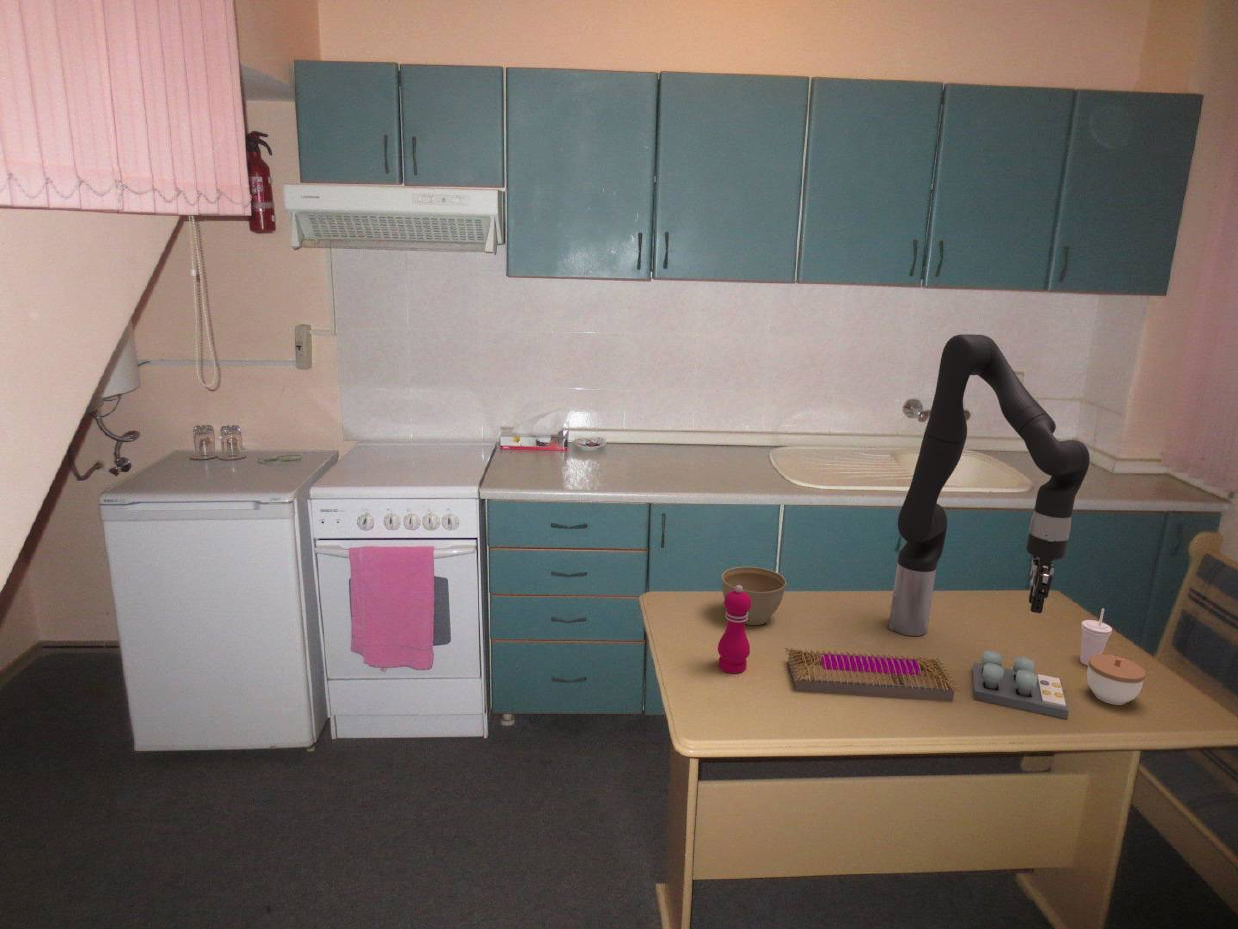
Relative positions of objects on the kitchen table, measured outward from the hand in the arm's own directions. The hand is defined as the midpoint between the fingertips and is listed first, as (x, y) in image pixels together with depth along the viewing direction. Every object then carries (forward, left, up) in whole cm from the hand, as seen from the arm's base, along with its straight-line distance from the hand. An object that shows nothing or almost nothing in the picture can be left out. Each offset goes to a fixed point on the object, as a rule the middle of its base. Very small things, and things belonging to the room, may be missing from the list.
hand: (1034, 607), depth 178 cm
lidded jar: (+18, +4, -19) cm, 27 cm away
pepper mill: (-61, -19, -19) cm, 67 cm away
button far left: (-7, 0, -17) cm, 19 cm away
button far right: (0, 0, -17) cm, 17 cm away
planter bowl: (-63, +8, -19) cm, 66 cm away
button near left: (-7, -7, -17) cm, 20 cm away
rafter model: (-32, -12, -20) cm, 39 cm away
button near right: (0, -7, -17) cm, 19 cm away
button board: (-1, -3, -19) cm, 20 cm away
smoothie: (+16, +20, -19) cm, 32 cm away
